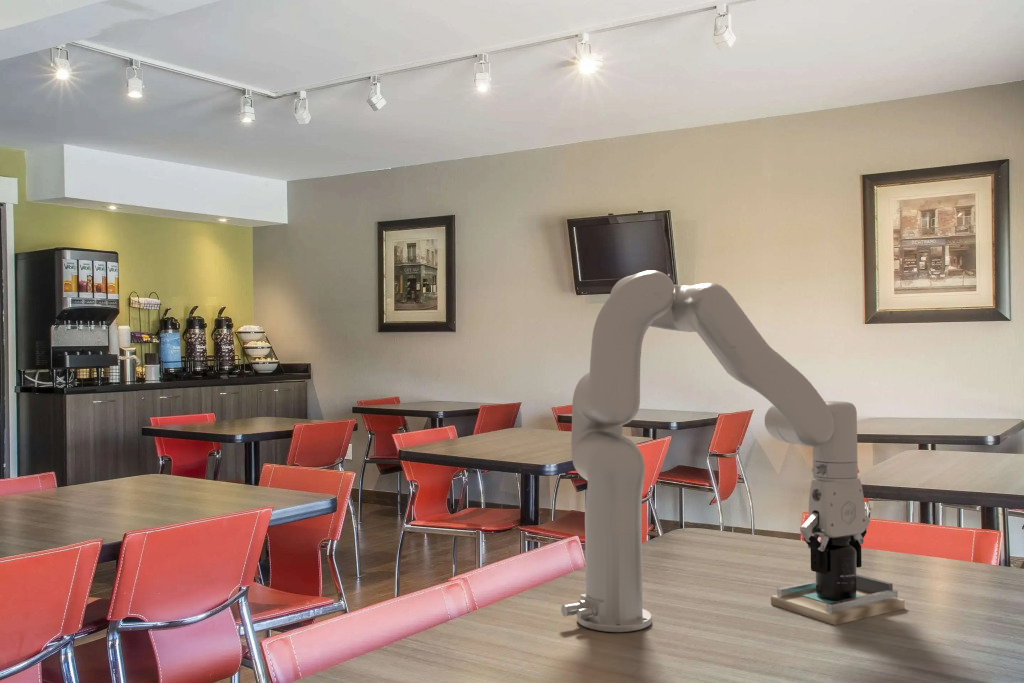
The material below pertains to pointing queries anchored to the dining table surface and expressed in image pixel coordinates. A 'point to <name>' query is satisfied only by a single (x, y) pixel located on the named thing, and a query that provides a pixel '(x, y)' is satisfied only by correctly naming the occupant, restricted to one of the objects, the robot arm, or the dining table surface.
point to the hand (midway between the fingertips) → (836, 568)
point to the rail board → (867, 603)
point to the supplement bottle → (838, 571)
